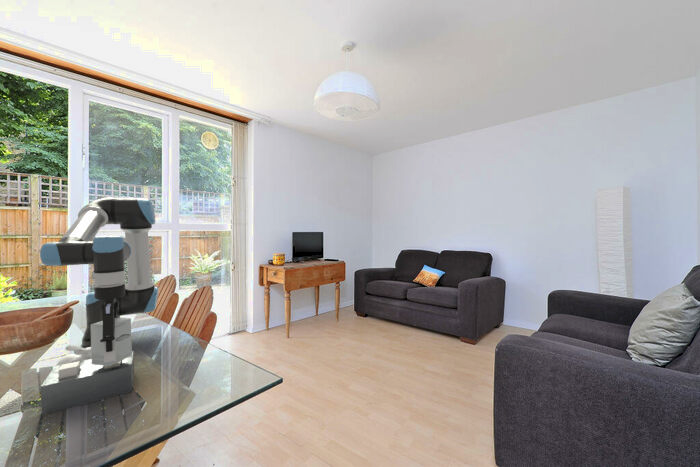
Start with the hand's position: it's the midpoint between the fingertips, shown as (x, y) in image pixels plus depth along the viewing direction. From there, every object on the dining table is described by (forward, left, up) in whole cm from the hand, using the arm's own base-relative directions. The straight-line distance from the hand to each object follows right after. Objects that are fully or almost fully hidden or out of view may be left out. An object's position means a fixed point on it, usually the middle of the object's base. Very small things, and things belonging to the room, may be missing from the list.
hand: (112, 354), depth 93 cm
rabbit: (-17, -11, -11) cm, 23 cm away
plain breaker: (0, -10, -6) cm, 12 cm away
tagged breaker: (0, 0, -8) cm, 8 cm away
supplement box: (0, 0, -2) cm, 2 cm away
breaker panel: (-2, -5, -11) cm, 12 cm away
